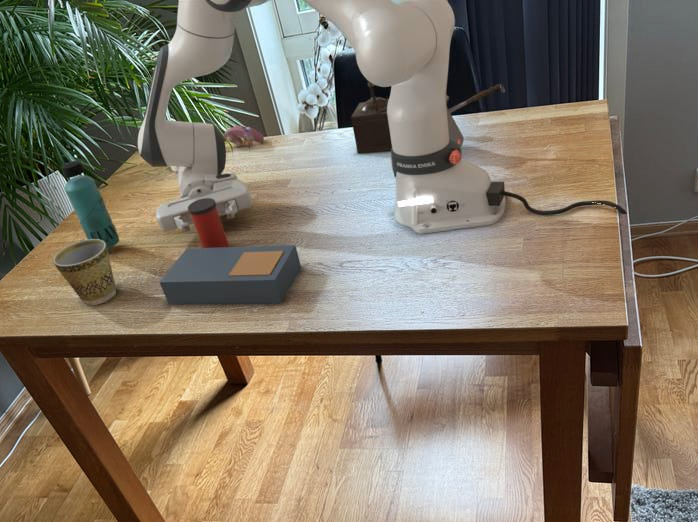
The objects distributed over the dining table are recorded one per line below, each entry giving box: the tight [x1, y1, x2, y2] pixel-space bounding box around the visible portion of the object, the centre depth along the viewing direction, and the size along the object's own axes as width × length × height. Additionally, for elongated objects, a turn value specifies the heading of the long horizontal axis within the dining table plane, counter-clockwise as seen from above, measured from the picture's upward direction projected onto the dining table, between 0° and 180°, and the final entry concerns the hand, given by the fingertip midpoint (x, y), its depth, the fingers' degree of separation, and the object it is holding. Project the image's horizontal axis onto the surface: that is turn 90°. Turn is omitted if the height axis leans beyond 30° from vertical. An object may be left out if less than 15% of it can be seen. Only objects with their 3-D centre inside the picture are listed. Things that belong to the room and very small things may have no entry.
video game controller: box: [223, 125, 265, 147], centre depth 190 cm, size 10×5×7 cm, turn 68°
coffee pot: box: [446, 83, 506, 147], centre depth 159 cm, size 21×12×15 cm, turn 75°
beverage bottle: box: [61, 160, 120, 250], centre depth 148 cm, size 6×7×20 cm
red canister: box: [188, 198, 230, 248], centre depth 141 cm, size 6×6×11 cm
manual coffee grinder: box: [350, 79, 392, 154], centre depth 172 cm, size 16×11×18 cm
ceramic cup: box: [52, 239, 117, 306], centre depth 136 cm, size 13×10×10 cm
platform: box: [159, 244, 302, 305], centre depth 131 cm, size 23×12×5 cm, turn 77°
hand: (208, 221), depth 143 cm, fingers open, 8 cm apart
